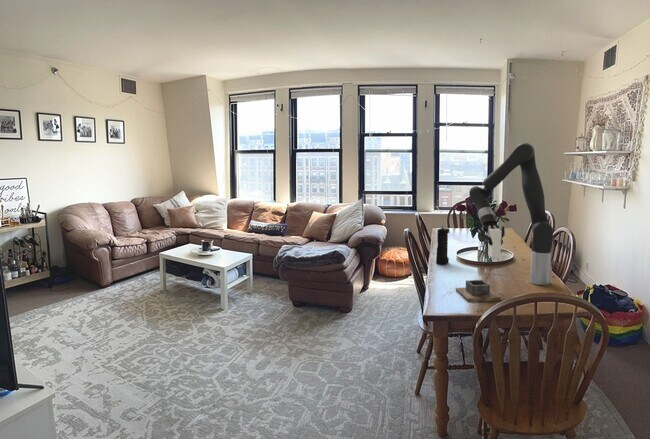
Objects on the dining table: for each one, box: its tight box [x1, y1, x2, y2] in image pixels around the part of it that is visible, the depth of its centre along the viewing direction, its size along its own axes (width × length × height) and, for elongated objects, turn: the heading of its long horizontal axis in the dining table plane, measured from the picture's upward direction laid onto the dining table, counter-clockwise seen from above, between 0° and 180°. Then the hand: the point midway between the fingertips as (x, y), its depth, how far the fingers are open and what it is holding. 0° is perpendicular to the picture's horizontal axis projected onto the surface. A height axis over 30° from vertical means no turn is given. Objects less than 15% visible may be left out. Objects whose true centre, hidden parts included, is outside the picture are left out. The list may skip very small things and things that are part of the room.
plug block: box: [487, 229, 502, 258], centre depth 209 cm, size 4×4×14 cm
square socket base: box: [455, 279, 502, 303], centre depth 201 cm, size 16×16×6 cm
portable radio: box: [435, 225, 450, 266], centre depth 259 cm, size 8×6×25 cm
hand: (496, 244), depth 207 cm, fingers closed on plug block, 4 cm apart
